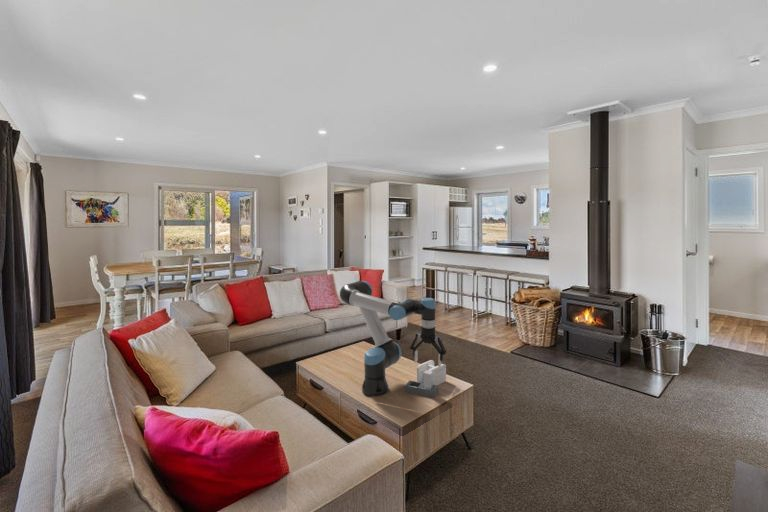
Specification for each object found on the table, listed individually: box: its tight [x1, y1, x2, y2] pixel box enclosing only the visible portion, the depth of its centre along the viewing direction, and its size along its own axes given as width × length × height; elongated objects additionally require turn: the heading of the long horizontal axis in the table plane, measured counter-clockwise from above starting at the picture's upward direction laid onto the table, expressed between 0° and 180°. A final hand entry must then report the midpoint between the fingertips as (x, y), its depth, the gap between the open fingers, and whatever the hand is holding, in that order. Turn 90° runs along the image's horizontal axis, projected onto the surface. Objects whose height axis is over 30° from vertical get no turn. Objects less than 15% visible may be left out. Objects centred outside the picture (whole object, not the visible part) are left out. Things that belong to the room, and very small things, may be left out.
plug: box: [423, 370, 433, 390], centre depth 205 cm, size 4×5×12 cm
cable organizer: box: [416, 359, 447, 386], centre depth 217 cm, size 15×11×12 cm
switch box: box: [404, 380, 439, 398], centre depth 207 cm, size 17×7×4 cm, turn 65°
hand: (427, 363), depth 204 cm, fingers open, 13 cm apart
